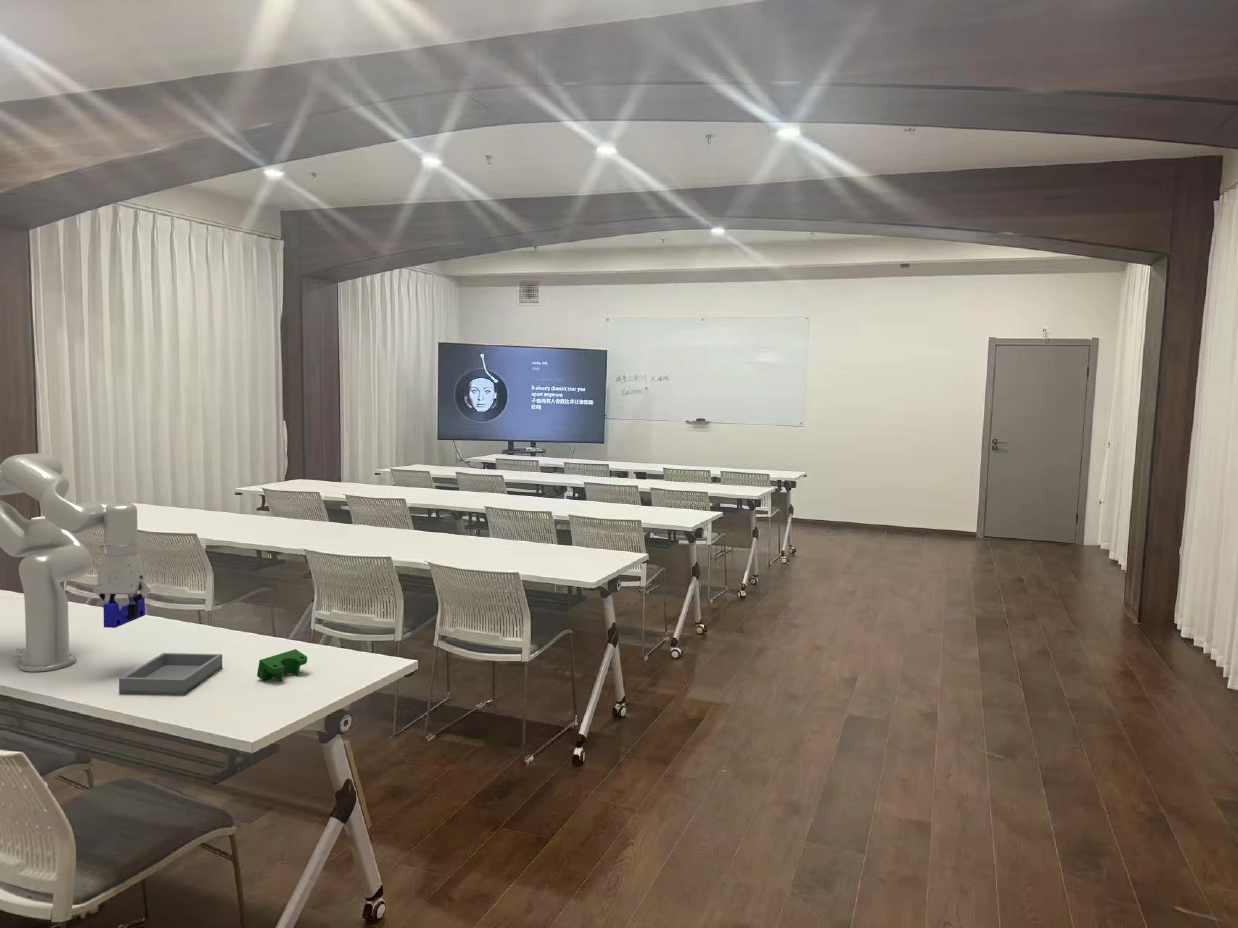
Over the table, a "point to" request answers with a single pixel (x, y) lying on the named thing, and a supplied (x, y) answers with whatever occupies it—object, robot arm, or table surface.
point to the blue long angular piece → (120, 614)
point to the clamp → (281, 665)
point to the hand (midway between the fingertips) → (122, 617)
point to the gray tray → (170, 674)
